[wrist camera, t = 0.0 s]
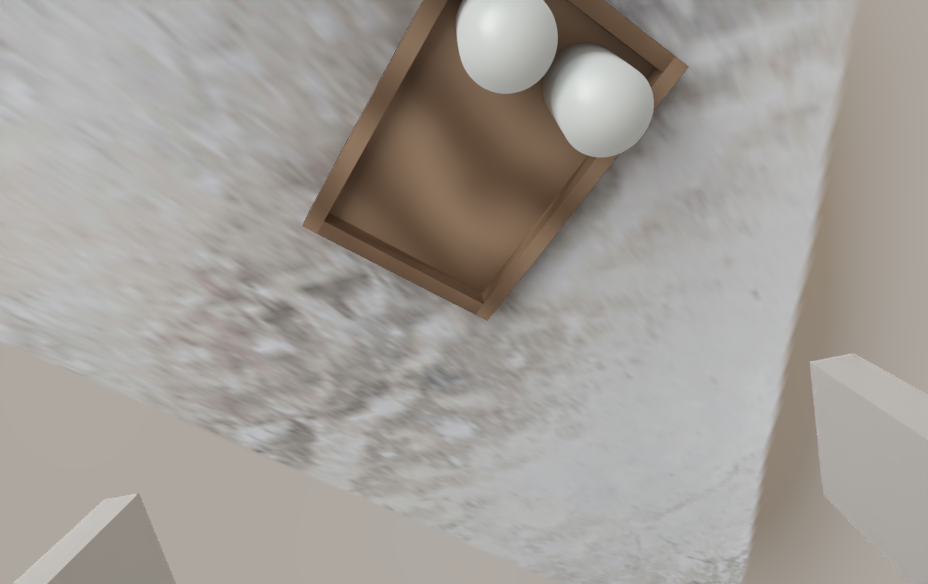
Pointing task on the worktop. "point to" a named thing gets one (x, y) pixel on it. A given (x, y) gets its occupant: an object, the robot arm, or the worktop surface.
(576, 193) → the tray
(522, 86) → the white rounded cylinder
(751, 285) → the worktop surface
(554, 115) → the white domed cylinder
